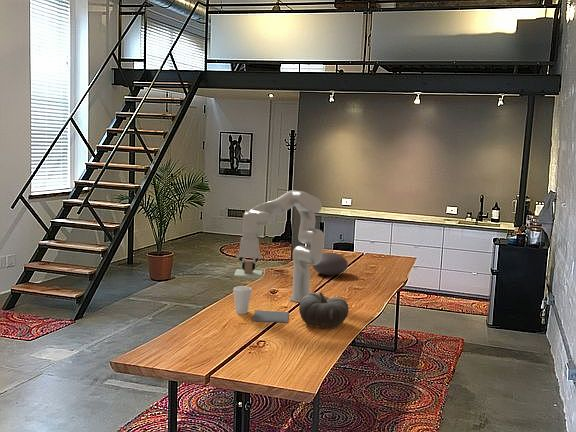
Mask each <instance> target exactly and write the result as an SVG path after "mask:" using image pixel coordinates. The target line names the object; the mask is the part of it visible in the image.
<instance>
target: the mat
mask: <svg viewBox="0 0 576 432" xmlns="http://www.w3.org/2000/svg"><path fill="white" fill-rule="evenodd" d="M253 313H254V314H253V318H252V320H251V321H252V322H261V323H262V322H263V323H277V324H278V323H281V324H288V323H289V322H288V321H289V315H290V314H289V311H276V310H273V311H272V310H254V312H253Z"/></svg>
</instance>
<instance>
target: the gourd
mask: <svg viewBox="0 0 576 432" xmlns="http://www.w3.org/2000/svg"><path fill="white" fill-rule="evenodd" d="M298 311H299V314H300V318H301V319H302V321H303V322H304V323H305V324H306V325H308V326H310V327H319V328H320V329H335V328H336V327H338V326H341V325H342V324H343V323H344V322H345V320H346V319H347V317H348V315H349V305H348V302H347V301H346V300H345V299H344V298H342V297H340V296H339V297H335V296H334V297H330V298H329V297H328V296H326V295H324V294H323V292H319V293H318V292H313V291H311V292H310V293H308V294H307V295H306V296H304V297H303V298H302V300H301V302H299V308H298Z"/></svg>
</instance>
